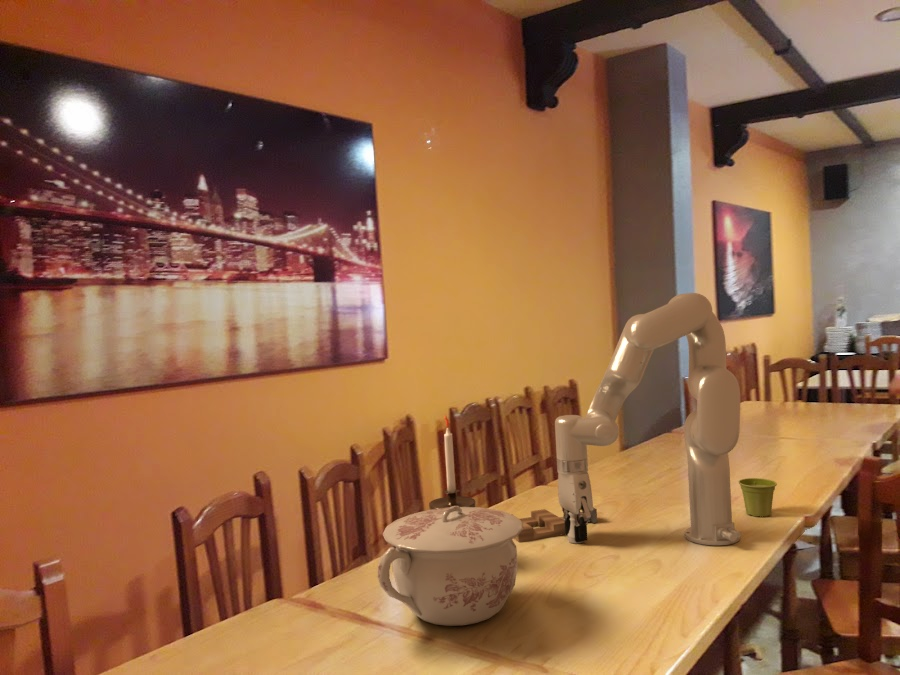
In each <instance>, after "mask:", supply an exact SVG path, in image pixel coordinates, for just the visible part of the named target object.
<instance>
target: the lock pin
mask: <svg viewBox="0 0 900 675" xmlns="http://www.w3.org/2000/svg"><path fill="white" fill-rule="evenodd" d="M590 514H591V518H590V519H589V520H588V523H591V524H595V523H598V511H597V508H596V507H593V511H592V512H590ZM559 517H560V518H561V519H563V520H564V517H563V516H559ZM580 517H582V515H580Z"/></svg>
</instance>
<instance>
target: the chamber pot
mask: <svg viewBox="0 0 900 675" xmlns="http://www.w3.org/2000/svg"><path fill="white" fill-rule="evenodd" d="M518 518H519V517H518V516H516V515H514V514H513V515H512V513H509V512H506V511H503V510H500V509H499V510H498V509H492V508H487V507H479V506H478V507H476V506H475V507H459V506H452V507H447V508H439V509H431V510H430V509H426V510H424V511H423V510H422V511H419V512H415V513H411V514H408V515H406V516H404V517H401V518H398V519H395V520H394V521H392V522H391V523H390V524H388V525H387V526H385V528H384V531H383V532H382V537H383V538H384V540H385V542H386V543H388V544H390V545H391V547H388V549H387V550H385V552H383V554H382V556H381V557H380V558H379V561H378V565H377V579H378V582H379V586H380V587H381V588H382V589H383V591H384V592H385V593H386V594H387V595H388V596H389V597H391V598H393V599H395V600H398V601H400V602H402V603H403V604H404V605H405V606H406V607H408V609H409V610H410V611H411V612H412V613H413V614H414V615H415V616H416V617H417V618H419V619H420V620H422V621H424V622H427V623H430V624H433V625H439V626H447V627H458V626H459V627H462V626H467V625H474V624H478V623H480V622H484V621H485V620H489V619H490V618H492V617H494V616H496V615H497V614H498V613H499V612H500V611H501V610H502V608H503V607H504V606H505V604H506V602H507V600H508V598H509V596H510V595H511V593H512V591H513V589H514V587H515V585H516V580H517V579H516V578H517V573H518V572H517V571H518V565H519V564H518V551H517V550H518V549H517V545H516V544H515V542H514V540H515V539H514V538H515V537H517V536H518V534H519V533H520V532H521V531H522V530H523V523H522V521H521V520H519V519H520V518H519V519H518ZM513 539H514V540H513ZM391 567H392V573H393V578H394V581H395V586H396V588H397V590H396V589H395V587H394V586H393V585H392V582H391V578H390V569H391Z"/></svg>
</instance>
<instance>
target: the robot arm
mask: <svg viewBox="0 0 900 675" xmlns="http://www.w3.org/2000/svg"><path fill="white" fill-rule="evenodd" d="M685 336H686V339H687V345H688V377H687V378H688V379H687V388H688V392H689V394H690V395H691V397H692V398H693V399H694V400H696V409H695V410H692V412H690V413H689V414H688V416H687V417H686V419H685V422H684V425H683V435H684V436H683V437H684V442H685V449H686V458H687V459H686V460H687V471H688V472H687V473H688V474H687V476H688V477H687V480H688V497H689V499H688V500H689V516H690V527H688V528H687V529H685V530H684V538H685V539H687V540H688V541H690V542H692V543H696V544H699V545H707V546H728V545H733V544H736V543H738V542H739V541H740V540H741V539H740V538H741V536H742V532H741V531H739V530H735V529H736V527H735V522H733V517H732V516H733V512H732V494H731V493H732V492H731V470H730V467H731V466H730V458H729V453H730V452H731V451H733V449H735V447H736V446H737V444H738V440H739V438H740V429H741V428H740V427H741V424H740V423H741V388H740V384H739V380H738V379H737V377H736V376H735V375H734V373H732V372H731V371H730V370H728V369H727V348H726V347H727V342H726V336H725V331H724V328H723V325H722V323H721V322H720V320H719V318H718V317H717V316H716V314H715V313H714V312H713V307H712V304H711V302H710V300H709V298H707V297H706V296H704V295H703V294H700V293H698V292H697V293H696V292H689V293H688V292H687V293H680V294H677V295H674V297H671V299H670V300H669V301H668V303H666V304H664V305H662V306H660V307H657V308H656V309H653V310H650V311H648V312H646V313H639V314H634V315H633V316H631V317H630V318H629V319H628V320H627V321H626V323H625V325H624V327H623V330H622V332H621V334H620V336H619V340H618V342H617V344H616V346H615V349H614V351H613V354H612V355H611V356H612V357H611V359H610V361H609V363H608V366H607V367H606V370H605V372H604V374H603V376H602V379H601V381H600V383H599V385H598V387H597V389H596V391H595V393H594V396H593V398H592V400H591V403H590V405H589V407H588V409H587V412H586V415H585V417H583V416H582V415H579V414H578V415H577V414H565V415H559V416H558V417H556V419H555V420H554V434H555V451H556V467H557V468H556V469H557V471H556V472H557V473H558V474H557V481H558V482H557V492H558V493H557V494H558V495H557V496H558V503H559V506H560V507H561V510H562V512H563V516H562V517H564V521H565V535H564V536H565V537H568V536H567V535H568V533H569V531H570V524H571V522H570V515H569V514H568V513H569V511H570V512H572V513H574V518H575V524H576V526H574V534H575V542H582V541H584V542H586V541H588V526H587V525H588V524H589V522H588V520H589V519H590V518H591V514H590V512H592V511H593V508H594V502H593V492H592V485H591V479H590V476H589V468H588V466H589V465H588V450H587V449H588V447H587V446H597V447H607V446H610V445H611V446H612V445H613V444H614V443H615V442H616V441H617V440H618V438H619V434H620V429H619V425H618V423H617V422H616V421H617V418H618V416H619V413H620V411H621V408H622V407H623V404H624V403H625V400H626V399H627V398H628V397H629V395H630V394H631V393H632V392H633V391H634V390H635V389H636V388H637V387H638V386H639V385H640V383H641V381H642V378H643V376H644V374H645V371H646V368H647V367H648V363H649V362H650V359H651V356H652V355H653V352H654V351H655V349H659V348H660V347H663V346H666V345H668V344H671V343H672V342H675V341H676V340H679V339H681V338H683V337H685ZM579 510H580V512H579ZM579 515H582V517H580V519H579V517H578V516H579Z"/></svg>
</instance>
